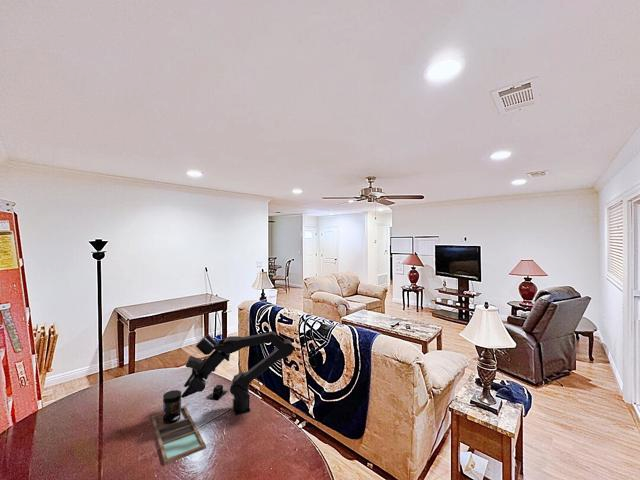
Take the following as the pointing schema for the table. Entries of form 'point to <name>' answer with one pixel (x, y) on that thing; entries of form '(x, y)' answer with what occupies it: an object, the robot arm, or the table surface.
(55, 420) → the table surface
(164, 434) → the compartment sorting tray
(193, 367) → the robot arm
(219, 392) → the black box
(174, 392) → the supplement container
